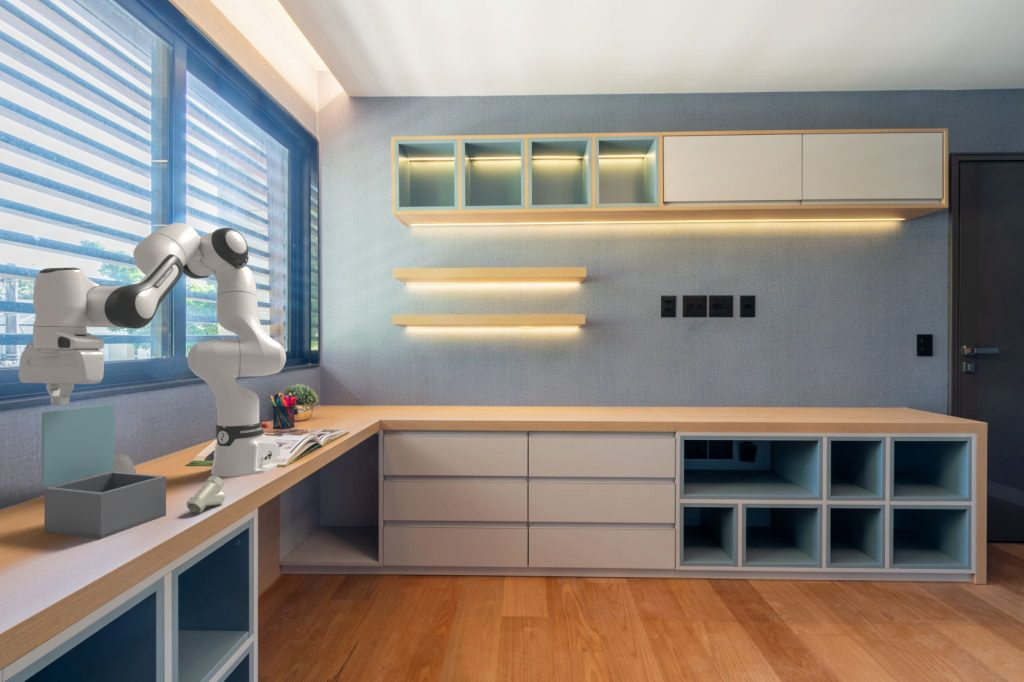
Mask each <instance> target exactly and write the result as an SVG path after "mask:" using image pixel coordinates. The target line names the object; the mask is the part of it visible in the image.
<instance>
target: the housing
mask: <svg viewBox="0 0 1024 682" xmlns="http://www.w3.org/2000/svg"><path fill="white" fill-rule="evenodd" d="M43 503H44V505H43V506H44V515H43V516H44V519H43V520H44V522H43V523H44V526H43V528H44V533H48V534H55V535H64V536H73V537H79V538H80V537H82V538H88V539H96V540H103V539H106V538H109V537H111V536H113V535H116V534H119V533H122V532H124V531H127V530H130V529H133V528H137V527H138V526H142V525H143V524H147V523H149V522H152V521H155V520H158V519H160V518H163V517H166V516H167V476H166V475H159V474H157V475H155V474H147V473H146V474H145V473H137V472H136V473H125V472H110V473H106V474H102V475H95V476H93V477H89V478H85V479H81V480H77V481H76V480H72V481H68V482H64V483H60V484H55V485H51V486H47V487H44V502H43Z"/></svg>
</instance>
